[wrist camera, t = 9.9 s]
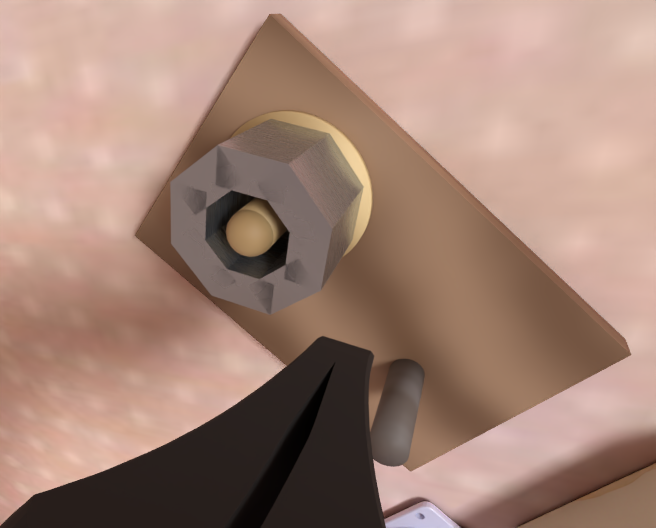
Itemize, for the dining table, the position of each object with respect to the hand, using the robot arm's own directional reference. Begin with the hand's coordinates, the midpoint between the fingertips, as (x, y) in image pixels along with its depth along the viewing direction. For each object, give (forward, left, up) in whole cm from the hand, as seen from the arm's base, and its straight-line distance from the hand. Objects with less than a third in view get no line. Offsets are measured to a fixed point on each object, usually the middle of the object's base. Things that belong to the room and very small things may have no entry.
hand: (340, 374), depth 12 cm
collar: (-2, +4, -8) cm, 9 cm away
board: (-3, 0, -9) cm, 10 cm away
